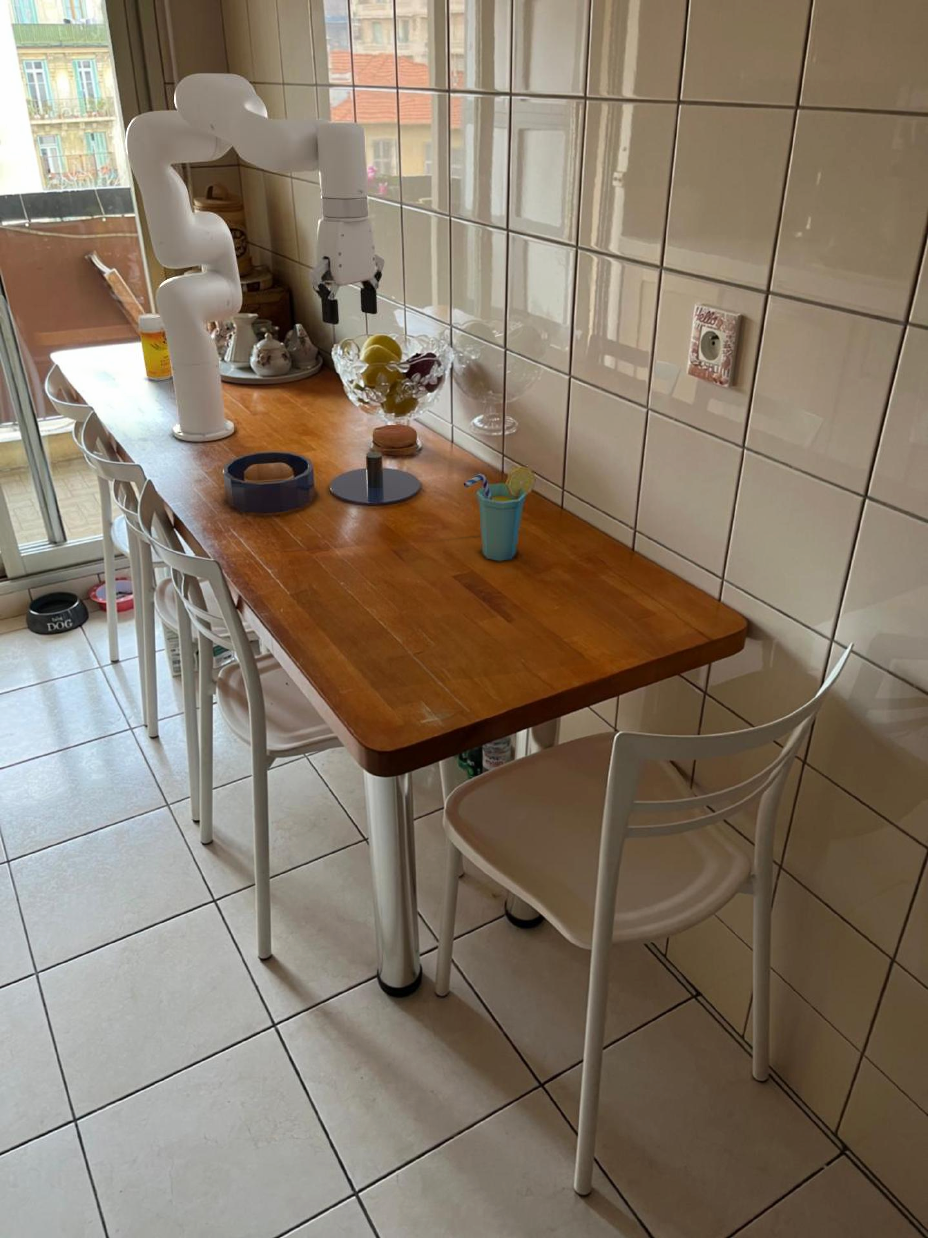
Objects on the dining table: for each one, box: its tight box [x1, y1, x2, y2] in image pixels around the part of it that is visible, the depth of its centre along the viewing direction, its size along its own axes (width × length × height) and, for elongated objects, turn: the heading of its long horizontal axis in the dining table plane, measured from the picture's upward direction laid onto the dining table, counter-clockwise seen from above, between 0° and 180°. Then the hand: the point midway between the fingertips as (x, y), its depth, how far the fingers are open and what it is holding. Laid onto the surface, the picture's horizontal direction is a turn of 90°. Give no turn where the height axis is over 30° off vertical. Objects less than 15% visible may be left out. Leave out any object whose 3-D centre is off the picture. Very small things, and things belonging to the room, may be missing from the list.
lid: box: [329, 451, 421, 506], centre depth 169 cm, size 17×17×7 cm
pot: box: [222, 450, 316, 514], centre depth 165 cm, size 16×16×6 cm
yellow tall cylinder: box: [137, 312, 173, 381], centre depth 225 cm, size 6×6×15 cm
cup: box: [463, 465, 536, 562], centre depth 145 cm, size 14×8×15 cm, turn 133°
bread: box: [244, 463, 294, 483], centre depth 165 cm, size 9×6×6 cm, turn 103°
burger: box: [371, 423, 419, 456], centre depth 187 cm, size 10×9×5 cm
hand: (350, 317), depth 157 cm, fingers open, 9 cm apart
